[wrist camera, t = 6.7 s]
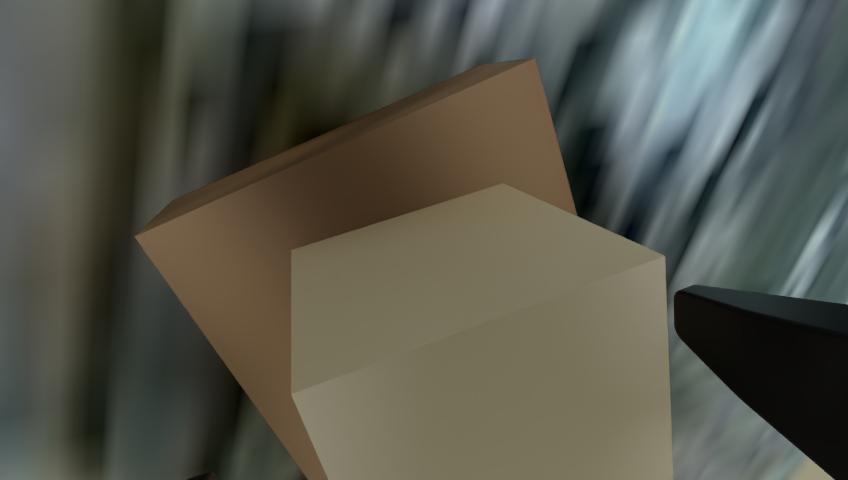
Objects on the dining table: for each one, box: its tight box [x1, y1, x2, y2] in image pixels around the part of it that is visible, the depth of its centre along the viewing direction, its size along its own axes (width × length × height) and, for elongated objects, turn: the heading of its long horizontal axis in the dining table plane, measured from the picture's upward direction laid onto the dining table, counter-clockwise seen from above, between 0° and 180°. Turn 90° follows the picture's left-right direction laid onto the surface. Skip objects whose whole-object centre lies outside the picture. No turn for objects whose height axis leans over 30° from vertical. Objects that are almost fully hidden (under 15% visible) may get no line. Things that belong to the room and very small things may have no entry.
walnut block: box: [135, 58, 577, 480], centre depth 13 cm, size 9×9×4 cm
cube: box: [291, 183, 673, 480], centre depth 9 cm, size 5×5×5 cm
